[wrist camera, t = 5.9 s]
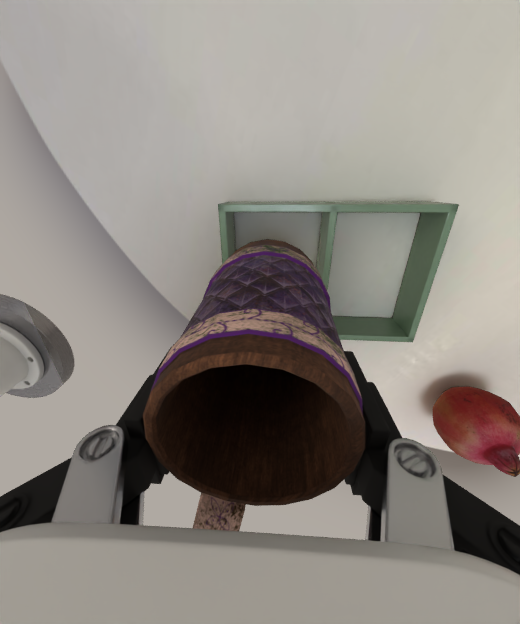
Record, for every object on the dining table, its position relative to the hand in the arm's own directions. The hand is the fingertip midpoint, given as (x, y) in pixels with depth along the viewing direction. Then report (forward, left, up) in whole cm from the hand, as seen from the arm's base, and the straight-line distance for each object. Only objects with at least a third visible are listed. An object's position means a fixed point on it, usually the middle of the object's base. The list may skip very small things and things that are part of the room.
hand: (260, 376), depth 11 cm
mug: (0, 0, -7) cm, 7 cm away
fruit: (+24, -17, -17) cm, 34 cm away
